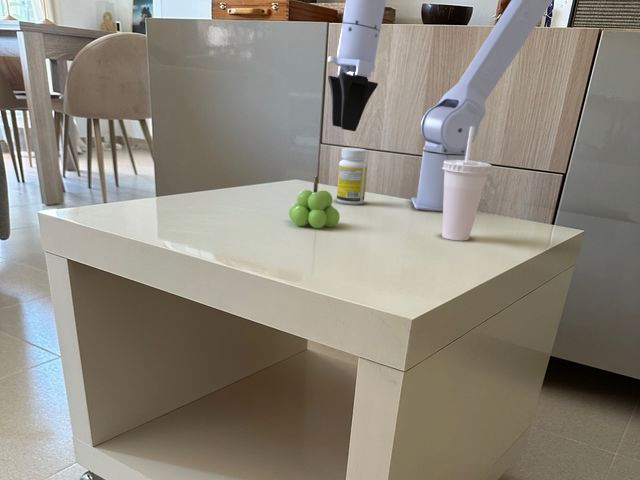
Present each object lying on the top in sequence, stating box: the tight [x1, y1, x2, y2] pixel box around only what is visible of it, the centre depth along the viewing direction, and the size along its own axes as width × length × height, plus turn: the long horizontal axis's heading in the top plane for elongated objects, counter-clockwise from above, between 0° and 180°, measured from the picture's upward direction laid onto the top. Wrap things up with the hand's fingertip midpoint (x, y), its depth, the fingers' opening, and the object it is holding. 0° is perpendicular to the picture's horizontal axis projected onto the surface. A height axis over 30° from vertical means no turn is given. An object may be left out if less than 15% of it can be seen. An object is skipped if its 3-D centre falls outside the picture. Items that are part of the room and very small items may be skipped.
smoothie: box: [441, 127, 493, 242], centre depth 84 cm, size 6×6×14 cm
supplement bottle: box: [336, 147, 368, 205], centre depth 105 cm, size 5×5×8 cm
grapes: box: [288, 175, 341, 229], centre depth 87 cm, size 7×7×6 cm
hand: (343, 128), depth 98 cm, fingers open, 7 cm apart
